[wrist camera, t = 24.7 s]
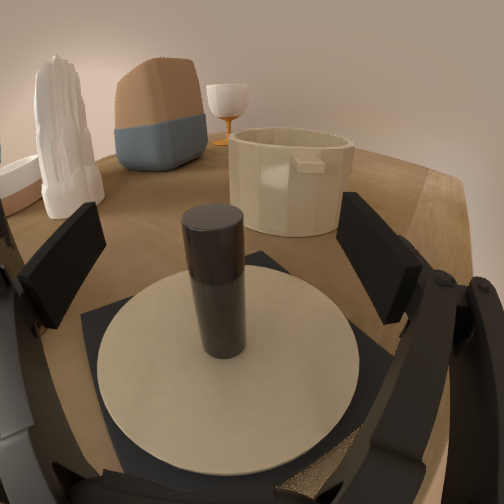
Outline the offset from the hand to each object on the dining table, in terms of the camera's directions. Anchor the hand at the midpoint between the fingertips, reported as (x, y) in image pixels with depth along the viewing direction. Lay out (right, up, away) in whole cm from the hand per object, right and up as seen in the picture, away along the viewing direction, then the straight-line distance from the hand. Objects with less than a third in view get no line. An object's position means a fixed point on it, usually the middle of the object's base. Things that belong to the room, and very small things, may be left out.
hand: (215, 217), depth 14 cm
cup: (-5, +29, +61) cm, 67 cm away
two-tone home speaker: (-18, +18, +44) cm, 50 cm away
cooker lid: (0, -7, +2) cm, 8 cm away
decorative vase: (-27, +6, +25) cm, 38 cm away
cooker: (+6, +4, +22) cm, 23 cm away
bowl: (-50, +9, +30) cm, 59 cm away
